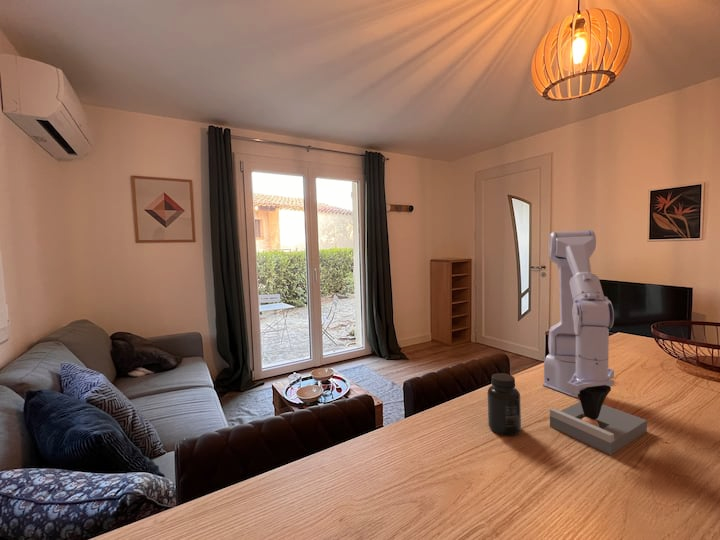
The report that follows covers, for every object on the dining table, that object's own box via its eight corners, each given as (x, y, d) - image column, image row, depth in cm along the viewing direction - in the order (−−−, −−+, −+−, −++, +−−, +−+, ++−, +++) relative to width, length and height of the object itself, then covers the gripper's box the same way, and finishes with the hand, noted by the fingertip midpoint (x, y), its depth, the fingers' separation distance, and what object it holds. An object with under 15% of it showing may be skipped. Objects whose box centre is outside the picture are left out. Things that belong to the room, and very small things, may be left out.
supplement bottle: (520, 423, 76) (520, 373, 75) (521, 439, 70) (521, 385, 69) (488, 418, 79) (488, 369, 78) (487, 433, 73) (486, 381, 72)
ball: (576, 415, 72) (585, 413, 73) (576, 431, 71) (585, 429, 73) (593, 421, 68) (603, 419, 70) (593, 439, 68) (603, 436, 70)
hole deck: (549, 426, 74) (549, 409, 74) (586, 408, 81) (586, 392, 81) (610, 455, 64) (610, 435, 63) (646, 431, 71) (647, 413, 70)
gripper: (593, 369, 63) (593, 436, 64) (630, 354, 70) (629, 415, 71) (557, 358, 69) (557, 420, 70) (594, 345, 76) (593, 402, 77)
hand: (591, 416), depth 71 cm, fingers closed
